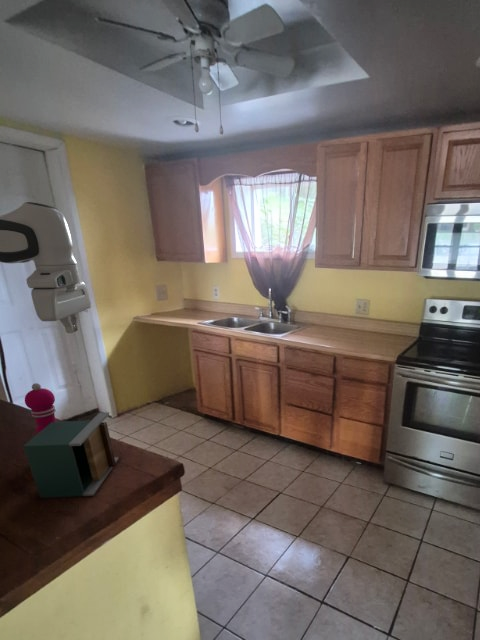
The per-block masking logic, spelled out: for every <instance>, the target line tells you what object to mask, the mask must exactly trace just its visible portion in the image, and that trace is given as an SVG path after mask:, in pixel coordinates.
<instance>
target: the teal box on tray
mask: <svg viewBox="0 0 480 640" xmlns="http://www.w3.org/2000/svg"><path fill="white" fill-rule="evenodd" d="M109 415H110V412H108V411H106V412H98V414H96V416H94V417H93V418H92V420H65V421H63V420H62V421H57V422H51V423H50V424H49V425H48V426H47V427H45V428H44V429H43V430H42V431H41V432H39V433H38V434H37V435H36V434H35V435H36V436H35V435H34V436H33V437H32V438H31V439H29V440H28V441H27V442H26V443H25V444H24V445H23V446H22V447H23V449H24V452H25V454H26V455H25V457H26V459H27V461H28V465H29V468H30V470H31V474H32V478H33V479H34V482H35V485H36V489H37V491H38V494H39V498H40V499H44V498H45V499H46V498H47V499H48V498H70V497H72V498H73V497H74V498H75V497H94V495H95V494H96V493H97V491H98V490H99V488H100V487H101V486H102V483H104V481H105V480H106V478H107V477H108V475H110V472H111V471H112V470H113V468H114V467H108V469H107V470H106V471H105V473H104V474H103V476H102V477H101V478H100V480H97V481H93V479H92V475H91V471H90V467H89V463H88V459H87V455H86V451H85V448H84V444H83V442H84V441H85V440H86V439H87V438H88V437H89V436H90V435H91V434H92V433H93V431H94V430H95V429H96V428H97V427H98V426H99V425H100V424H101V423H102V422H104V421H105V420H106V419H107V417H109ZM114 458H115V463H116V464H117V463H118V462H119V460H120V457H119V456H114Z"/></svg>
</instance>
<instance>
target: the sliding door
mask: <svg viewBox="0 0 480 640" xmlns="http://www.w3.org/2000/svg"><path fill="white" fill-rule="evenodd" d="M83 444H84V448H85V451H86V455H87V459H88V463H89V467H90V471H91V475H92V479H93V481H97V480H100V478H101V477H102V476H103V474H104V473H105V471H106V470H107V469H108V467H113V468H114V467H115V465H116V464H117V462H116V463H115V458H114V457H115V454H114V449H113V445H112V440H111V436H110V432H109V427H108V423H107V422H106V421H105V422H104V421H103V422H102V423H101V424H100V425H99V426H98V427H97V428H96V429H95V430H94V431H93V433H92V434H91V435H90V436H89V437H88V438H87V439H86V440H85V441H84V442H83Z"/></svg>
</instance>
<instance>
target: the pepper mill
mask: <svg viewBox="0 0 480 640" xmlns="http://www.w3.org/2000/svg"><path fill="white" fill-rule="evenodd" d="M55 401H56V398H55V394H54V393H53V392H52V390H49V389H48V388H45V387H44V388H42V386H41V384H39V382H35V383H32V385H31V390H29V391H28V392H27V393H26V394H25V396H24V404H25V405H26V407H27V408H28V409H30V413H31V417H33V418H34V419H35V421H36V432H35V435H34V437H35V436H36V435H37V434H38V433H39V432H41V431H42V430H43V429H44V428H45V427H47V426H48V425H49V424H50V423H51V422H58V421H57V418H56V411H57V410H56V407H55V405H54V404H55Z"/></svg>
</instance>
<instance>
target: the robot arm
mask: <svg viewBox="0 0 480 640" xmlns="http://www.w3.org/2000/svg"><path fill="white" fill-rule="evenodd" d="M72 239H73V238H72V235H71V231H70V228H69V224H68V222H67V218H66V217H65V215H64V214H63V212H61V210H59V209H58V208H56V207H54V206H51V205H47V204H44V203H38V202H33V201H32V202H31V201H28V202H22V204H21V205H20V206H19V207H18V208H16V209H13V210H12V211H10V212H7V213H4V214H2V215H0V263H1V264H2V263H3V264H10V265H11V264H12V265H13V264H23V263H29V262H31V261H33V263H34V266H35V270H33V272H32V273H31V274H30V275H29V276H28V277H26V280H25V281H26V285H27V287H28V289H31V291H30V293H31V299H32V304H33V307H34V310H35V313H36V316H37V318H38V319H39V320H40V321H41V322H57V321H59V322H60V323H61V324H62V326H63V327H64V329H65V333H66V334H74V333H75V332H77V331H79V326H78V323H79V314H78V313H81V312H84V311H86V310H90V309H91V308H92V301H91V298H90V293H89V291H88V287H87V284H86V283H85V282H84V281H83V279H82V278H81V277H80V272H79V267H78V266H79V265H78V262H77V260H76V258H75V256H74V249H73V248H74V243H73V240H72Z"/></svg>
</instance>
